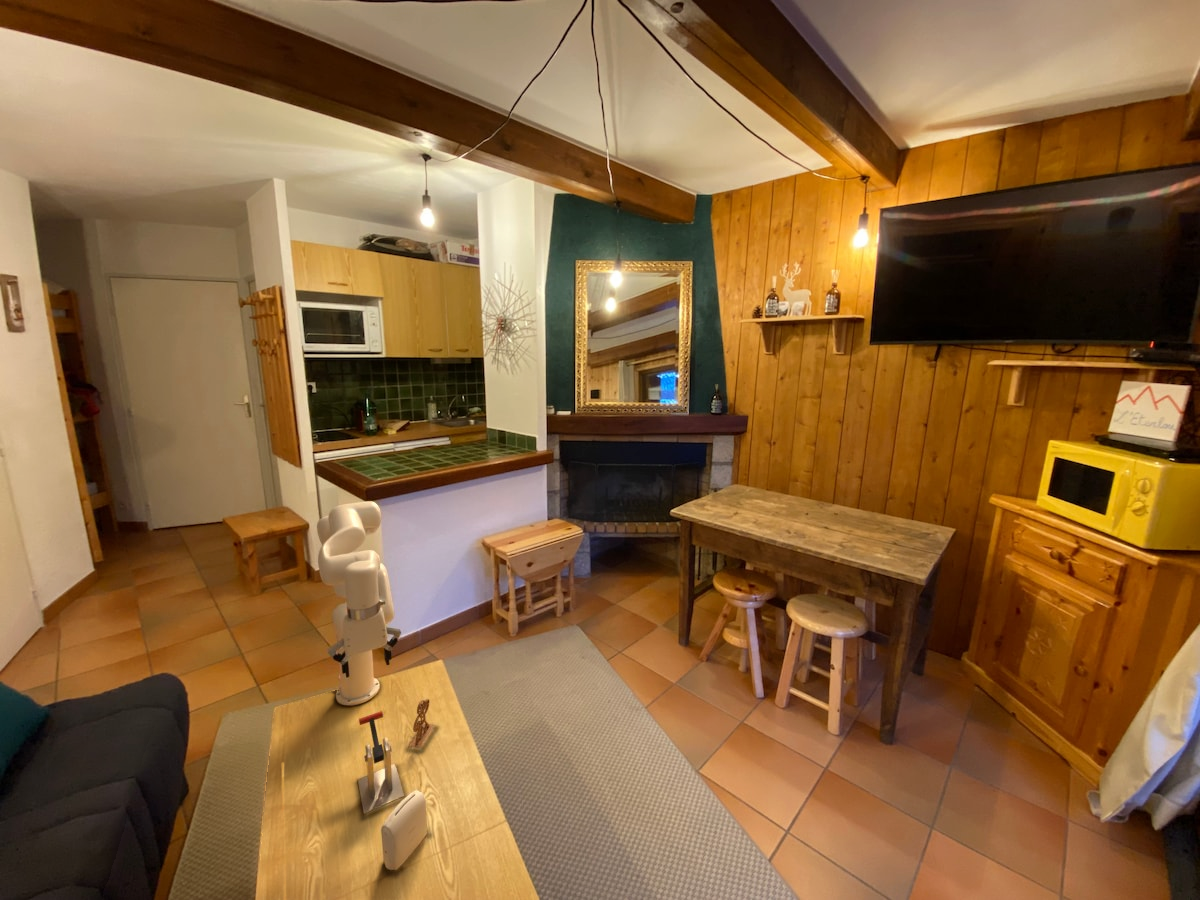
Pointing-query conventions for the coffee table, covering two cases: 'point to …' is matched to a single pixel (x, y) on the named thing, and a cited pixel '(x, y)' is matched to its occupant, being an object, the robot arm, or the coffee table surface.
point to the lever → (374, 735)
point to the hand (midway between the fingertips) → (367, 668)
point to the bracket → (379, 781)
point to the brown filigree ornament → (422, 732)
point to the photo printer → (404, 830)
